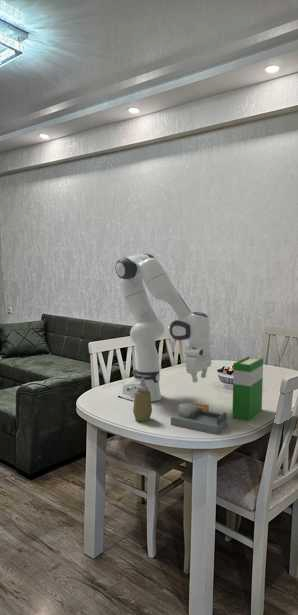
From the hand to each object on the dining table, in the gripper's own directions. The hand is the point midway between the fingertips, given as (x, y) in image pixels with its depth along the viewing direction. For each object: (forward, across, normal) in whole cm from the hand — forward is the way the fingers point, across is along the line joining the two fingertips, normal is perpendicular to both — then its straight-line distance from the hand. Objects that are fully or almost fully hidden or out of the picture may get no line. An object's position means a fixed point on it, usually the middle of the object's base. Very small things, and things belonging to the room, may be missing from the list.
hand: (199, 379), depth 179 cm
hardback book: (+16, -11, +18) cm, 27 cm away
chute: (+15, 0, -1) cm, 15 cm away
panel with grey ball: (+15, +13, +5) cm, 21 cm away
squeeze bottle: (+15, +20, -18) cm, 31 cm away
